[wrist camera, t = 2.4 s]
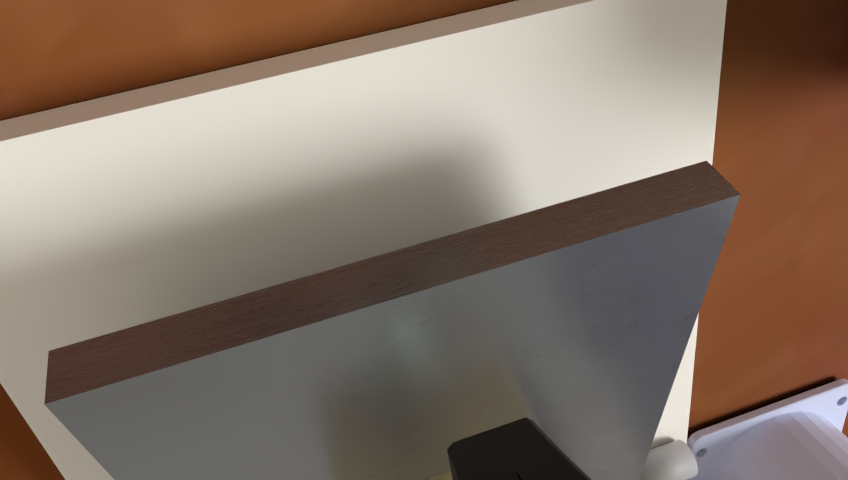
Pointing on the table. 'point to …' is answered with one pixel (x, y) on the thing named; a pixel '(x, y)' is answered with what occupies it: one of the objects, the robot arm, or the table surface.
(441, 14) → the table surface
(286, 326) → the plate
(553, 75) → the base board
